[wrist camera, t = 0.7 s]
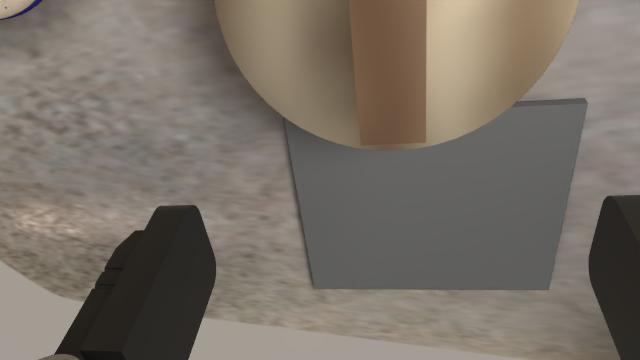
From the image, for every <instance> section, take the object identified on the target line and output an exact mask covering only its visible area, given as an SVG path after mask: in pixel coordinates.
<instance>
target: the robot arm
mask: <svg viewBox="0 0 640 360" xmlns="http://www.w3.org/2000/svg"><path fill="white" fill-rule="evenodd" d="M589 276H590V281H591V284H592V287H593V290H594V293H595V295H596V298H597V300H598V303H599V305H600V308H601V310H602V313H603V315H604V318H605V320H606V323H607V325H608V328H609V330H610V333H611V335H612V338H613V340H614V343H615V345H616V348H617V350H618V353H619V355H620V358H621V360H640V195H625V196H607V197H606V198H605V199H604V201H603V204H602V207H601V211H600V215H599V219H598V223H597V227H596V230H595V234H594V238H593V242H592V246H591V250H590V254H589ZM215 277H216V261H215V256H214V253H213V250H212V247H211V244H210V241H209V238H208V235H207V232H206V229H205V226H204V223H203V220H202V217H201V214H200V211H199V209H198V208H197V207H196V206H195V205H179V206H159V207H158V208H157V209H156V210H155V211H154V213H153V215H152V217H151V219H150V221H149V222H148V224H147V226H146V228H145V230H140V231H134V232H133V233H132V234H131V235H130V236H129V237H128V238H127V239H126V240H124V241H123V242H122V243H121V244H120V245H119V246H118V247H117V248H116V249H115V251H114V253H113V254H112V256H111V258H110V259H109V261H108V263H107V265H106V266H105V272H102V273H101V275H100V277H99V278H98V280H97V282H96V284H95V289H92V290H91V292H90V294H89V296H88V297H87V299H86V301H85V303H84V304H83V306H82V308H81V310H80V311H79V313H78V315H77V316H76V318H75V320H74V322H73V323H72V325H71V327H70V328H69V330H68V332H67V334H66V335H65V337H64V339H63V340H62V342H61V344H60V346H59V347H58V349H57V351H56V352H55V354H54V355H51V356H48V357H44V358H42V359H39V360H188V359H189V356H190V353H191V350H192V347H193V344H194V341H195V339H196V336H197V333H198V330H199V327H200V324H201V321H202V318H203V316H204V313H205V310H206V307H207V304H208V301H209V298H210V295H211V292H212V289H213V287H214V283H215Z"/></svg>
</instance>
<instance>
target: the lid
mask: <svg viewBox="0 0 640 360" xmlns="http://www.w3.org/2000/svg"><path fill="white" fill-rule="evenodd" d="M578 3H579V0H214V4H215V10H216V15H217V18H218V22H219V25H220V28H221V32H222V35H223V37H224V40H225V42H226V44H227V47H228V49H229V51H230V53H231V56H232V57H233V59H234V61H235V62H236V64H237V66H238V67H239V69H240V71H241V72H242V74H243V75H244V77H245V78H246V79H247V81H248V82H249V83H250V85H251V86H252V87H253V88H254V90H255V91H256V92H257V93H258V94H259V95H260V96H261V97H262V98H263V99H264V100H265V101H266V102H267V103H268V104H269V105H270V106H271V107H272V108H274V109H275V110H276V111H277V112H278V113H280V114H281V115H282V116H283V117H285V118H286V119H288V120H289V121H291V122H292V123H294V124H295V125H297V126H299V127H300V128H302V129H304V130H306V131H308V132H310V133H312V134H314V135H316V136H318V137H321V138H324V139H326V140H329V141H332V142H335V143H338V144H342V145H346V146H350V147H354V148H360V149H368V150H380V151H398V150H409V149H418V148H423V147H428V146H433V145H437V144H440V143H443V142H446V141H450V140H453V139H456V138H458V137H460V136H463V135H465V134H467V133H469V132H472V131H474V130H476V129H478V128H479V127H481V126H483V125H485V124H486V123H488V122H490V121H492V120H493V119H495V118H496V117H497V116H499V115H500V114H502V113H503V112H504V111H506V110H507V109H508V108H510V107H511V106H512V105H513V104H515V103H516V102H517V101H518V100H519V99H520V98H521V97H522V96H523V95H524V94H525V93H527V92H528V91H529V89H530V88H531V87H532V86H533V85H534V84H535V83H536V81H537V80H538V79H539V78H540V77H541V76H542V75H543V73H544V72H545V70H546V69H547V68H548V66H549V65H550V63H551V62H552V60H553V59H554V57H555V56H556V55H557V53H558V51H559V49H560V47H561V45H562V43H563V41H564V40H565V38H566V36H567V34H568V32H569V29H570V26H571V24H572V21H573V19H574V16H575V13H576V11H577V7H578Z"/></svg>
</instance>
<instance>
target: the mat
mask: <svg viewBox="0 0 640 360" xmlns="http://www.w3.org/2000/svg"><path fill="white" fill-rule="evenodd" d="M587 104H588V103H587V101H586V100H585V98H584V99H564V100H543V101H522V102H516V103H515V104H513V105H512V106H511V107H510V108H508V109H507V110H506V111H504V112H503V113H502V114H500V115H499V116H497V117H496V118H495V119H493V120H492V121H490V122H488V123H486V124H485V125H483V126H481V127H479V128H478V129H476V130H474V131H472V132H469V133H467V134H465V135H463V136H460V137H458V138H456V139H453V140H450V141H446V142H443V143H440V144H437V145H433V146H428V147H423V148H418V149H409V150H398V151H380V150H368V149H360V148H354V147H350V146H346V145H342V144H338V143H335V142H332V141H329V140H326V139H324V138H321V137H318V136H316V135H314V134H312V133H310V132H308V131H306V130H304V129H302V128H300V127H299V126H297V125H295V124H294V123H292V122H291V121H289V120H288V119H286V118H285V117H284V123H285V129H286V134H287V140H288V145H289V151H290V157H291V162H292V168H293V173H294V179H295V184H296V190H297V195H298V201H299V206H300V212H301V217H302V223H303V229H304V234H305V240H306V245H307V251H308V256H309V262H310V267H311V273H312V278H313V284H314V289H434V290H549V286H550V281H551V276H552V271H553V267H554V262H555V257H556V252H557V248H558V243H559V238H560V233H561V228H562V224H563V219H564V214H565V209H566V205H567V200H568V195H569V190H570V186H571V181H572V176H573V171H574V166H575V162H576V157H577V152H578V147H579V143H580V138H581V133H582V128H583V123H584V119H585V114H586V109H587Z"/></svg>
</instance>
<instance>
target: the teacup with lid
mask: <svg viewBox="0 0 640 360" xmlns="http://www.w3.org/2000/svg"><path fill="white" fill-rule="evenodd" d="M41 1H42V0H0V20H3V19H8V18H13V17H16V16H19V15H22V14H24V13H26V12H28V11H29V10H31V9H32V8H34V7H35V6H37V5H38V4H39V3H40V2H41Z"/></svg>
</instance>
